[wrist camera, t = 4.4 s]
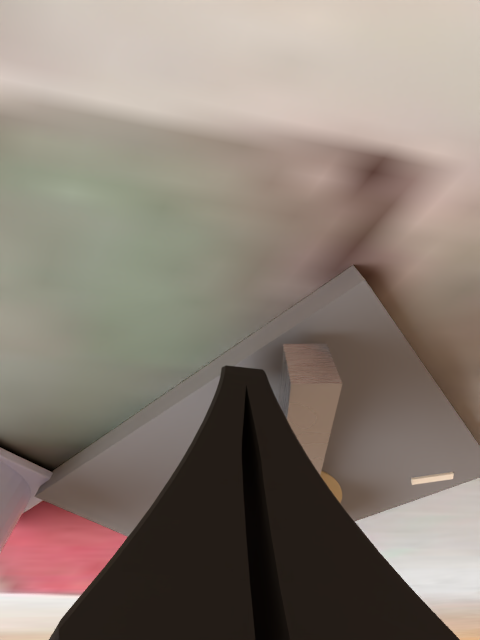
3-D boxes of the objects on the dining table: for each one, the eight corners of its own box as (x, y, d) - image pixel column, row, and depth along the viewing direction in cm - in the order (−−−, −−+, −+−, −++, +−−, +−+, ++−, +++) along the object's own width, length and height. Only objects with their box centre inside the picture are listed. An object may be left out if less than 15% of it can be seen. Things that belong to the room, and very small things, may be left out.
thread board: (211, 552, 23) (210, 573, 22) (46, 475, 18) (33, 498, 16) (481, 449, 16) (498, 473, 15) (353, 264, 11) (366, 281, 9)
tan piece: (324, 530, 18) (342, 616, 15) (230, 531, 18) (228, 616, 15) (385, 333, 10) (450, 427, 7) (218, 335, 10) (210, 429, 7)
